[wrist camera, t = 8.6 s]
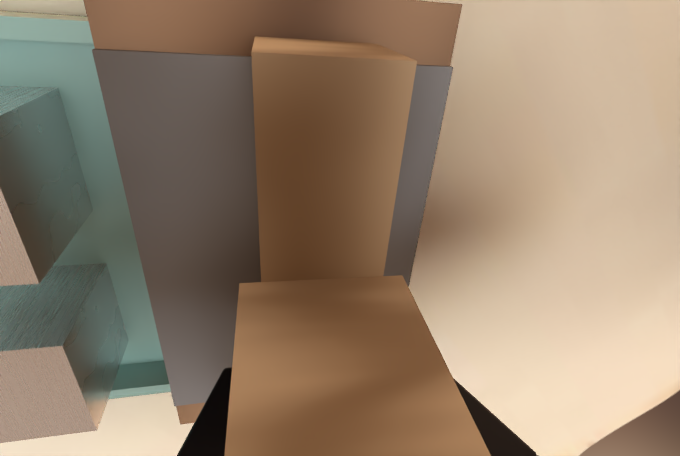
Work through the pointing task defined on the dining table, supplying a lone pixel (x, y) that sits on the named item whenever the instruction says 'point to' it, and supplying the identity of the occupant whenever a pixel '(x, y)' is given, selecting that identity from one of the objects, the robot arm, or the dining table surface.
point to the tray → (90, 177)
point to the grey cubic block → (58, 352)
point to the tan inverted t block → (335, 270)
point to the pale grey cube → (37, 183)
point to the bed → (235, 148)
